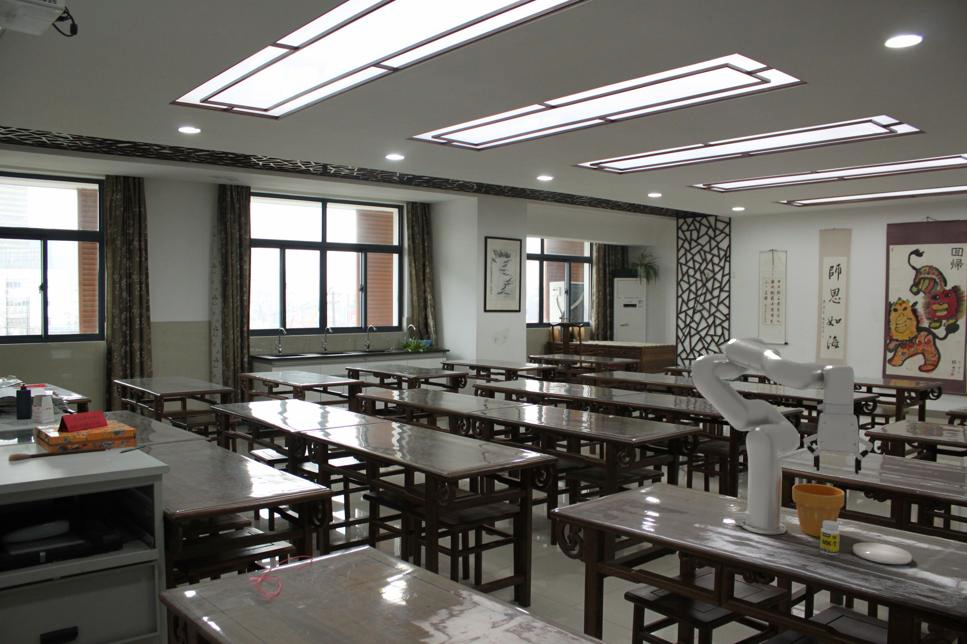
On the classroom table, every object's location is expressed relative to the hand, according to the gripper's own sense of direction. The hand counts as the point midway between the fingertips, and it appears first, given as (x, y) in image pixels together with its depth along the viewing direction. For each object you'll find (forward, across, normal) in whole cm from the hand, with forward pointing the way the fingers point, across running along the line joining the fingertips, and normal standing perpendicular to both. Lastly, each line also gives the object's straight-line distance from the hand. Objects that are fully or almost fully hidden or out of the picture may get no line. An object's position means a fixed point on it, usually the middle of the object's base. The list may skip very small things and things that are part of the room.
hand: (837, 471), depth 199 cm
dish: (+22, +11, +1) cm, 25 cm away
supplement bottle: (+22, -2, -1) cm, 23 cm away
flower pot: (+22, -4, +16) cm, 28 cm away
